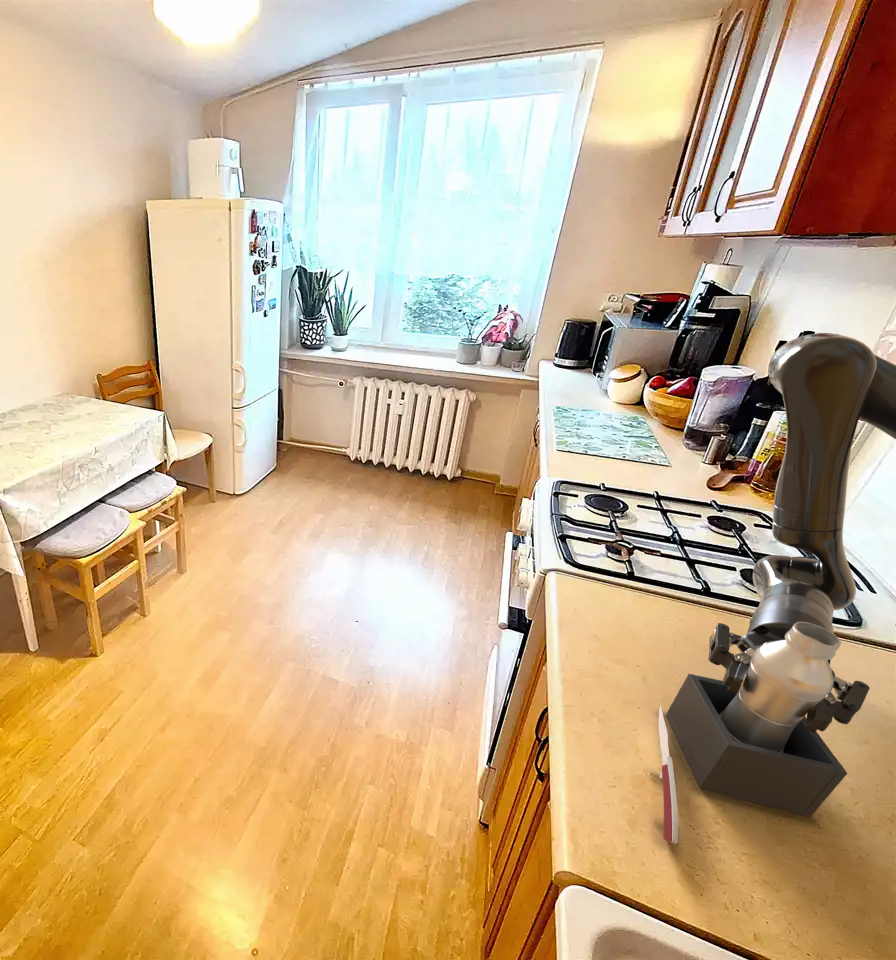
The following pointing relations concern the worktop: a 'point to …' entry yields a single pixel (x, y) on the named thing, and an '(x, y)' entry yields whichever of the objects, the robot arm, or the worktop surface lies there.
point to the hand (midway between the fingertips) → (773, 705)
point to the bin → (750, 754)
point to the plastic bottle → (782, 687)
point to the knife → (668, 786)
